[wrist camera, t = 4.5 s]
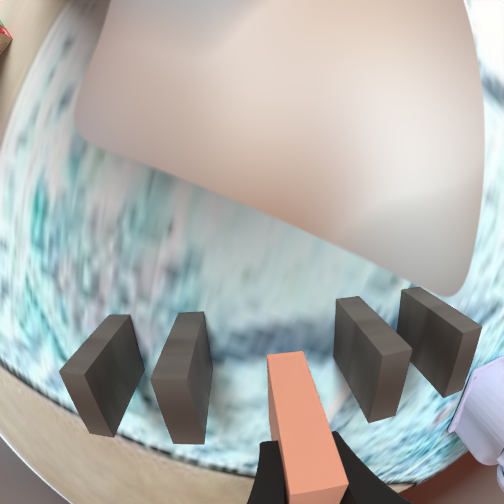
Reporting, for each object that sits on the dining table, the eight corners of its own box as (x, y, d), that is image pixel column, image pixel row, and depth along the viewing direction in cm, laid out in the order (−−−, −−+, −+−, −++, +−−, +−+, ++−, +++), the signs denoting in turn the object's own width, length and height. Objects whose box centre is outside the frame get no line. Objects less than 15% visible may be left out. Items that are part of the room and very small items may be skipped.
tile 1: (411, 339, 19) (462, 389, 12) (394, 344, 19) (443, 398, 12) (419, 286, 18) (482, 326, 11) (401, 289, 18) (463, 333, 11)
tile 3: (212, 368, 19) (204, 444, 12) (189, 369, 19) (173, 443, 12) (203, 311, 18) (186, 379, 11) (178, 312, 18) (150, 379, 11)
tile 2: (354, 352, 19) (395, 415, 12) (333, 356, 19) (368, 423, 12) (358, 296, 18) (412, 348, 11) (335, 299, 18) (382, 355, 11)
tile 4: (144, 369, 18) (113, 437, 12) (125, 368, 18) (90, 433, 12) (129, 314, 17) (84, 374, 11) (109, 314, 17) (59, 371, 11)
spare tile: (299, 415, 13) (326, 527, 7) (269, 418, 13) (284, 534, 7) (302, 350, 12) (348, 483, 5) (266, 354, 12) (290, 494, 5)
